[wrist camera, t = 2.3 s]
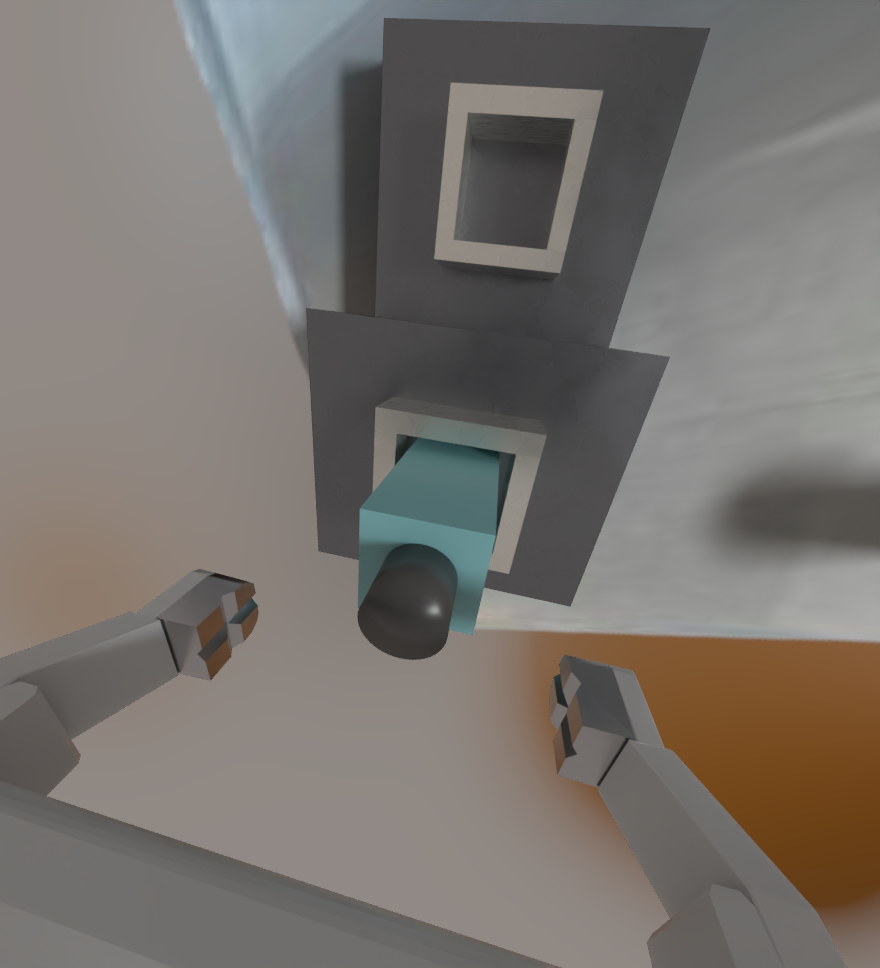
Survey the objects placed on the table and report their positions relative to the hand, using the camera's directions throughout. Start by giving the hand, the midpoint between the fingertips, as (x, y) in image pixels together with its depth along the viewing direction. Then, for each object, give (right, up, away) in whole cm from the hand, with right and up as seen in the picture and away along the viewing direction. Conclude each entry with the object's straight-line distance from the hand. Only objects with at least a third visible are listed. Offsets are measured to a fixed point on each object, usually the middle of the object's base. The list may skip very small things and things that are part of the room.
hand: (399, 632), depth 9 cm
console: (+5, +15, +17) cm, 23 cm away
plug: (+2, +4, +9) cm, 10 cm away
